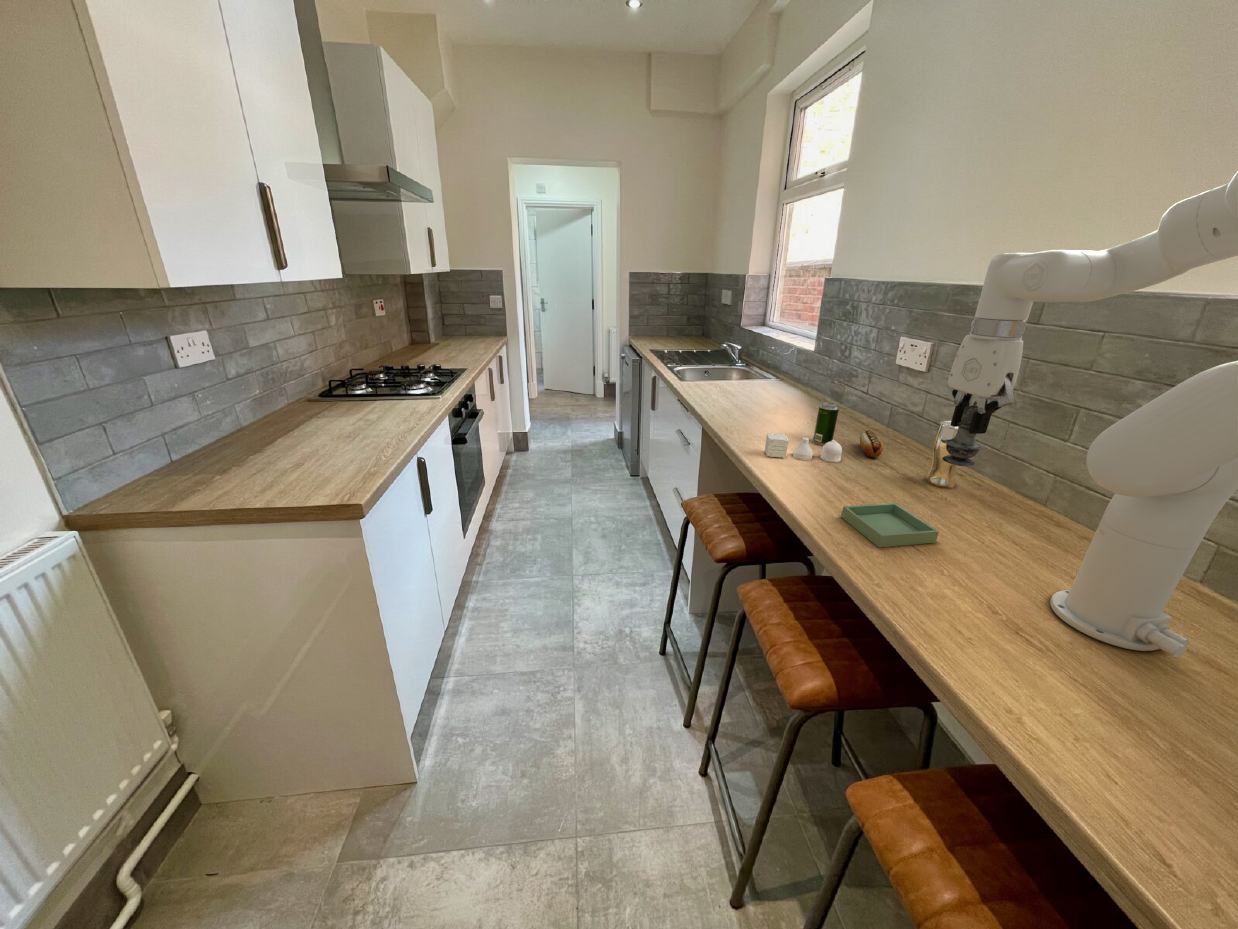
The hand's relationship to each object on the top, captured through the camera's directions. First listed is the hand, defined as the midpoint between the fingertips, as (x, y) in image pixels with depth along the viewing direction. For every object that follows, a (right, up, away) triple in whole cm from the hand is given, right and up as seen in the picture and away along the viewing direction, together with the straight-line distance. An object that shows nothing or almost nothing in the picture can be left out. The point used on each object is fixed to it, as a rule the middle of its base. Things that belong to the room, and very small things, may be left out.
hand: (967, 428), depth 92 cm
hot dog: (+6, -3, +48) cm, 48 cm away
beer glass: (+13, -12, +28) cm, 33 cm away
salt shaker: (0, -6, +3) cm, 7 cm away
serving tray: (-12, -20, +6) cm, 24 cm away
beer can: (-5, -1, +54) cm, 55 cm away
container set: (-15, -5, +43) cm, 46 cm away
